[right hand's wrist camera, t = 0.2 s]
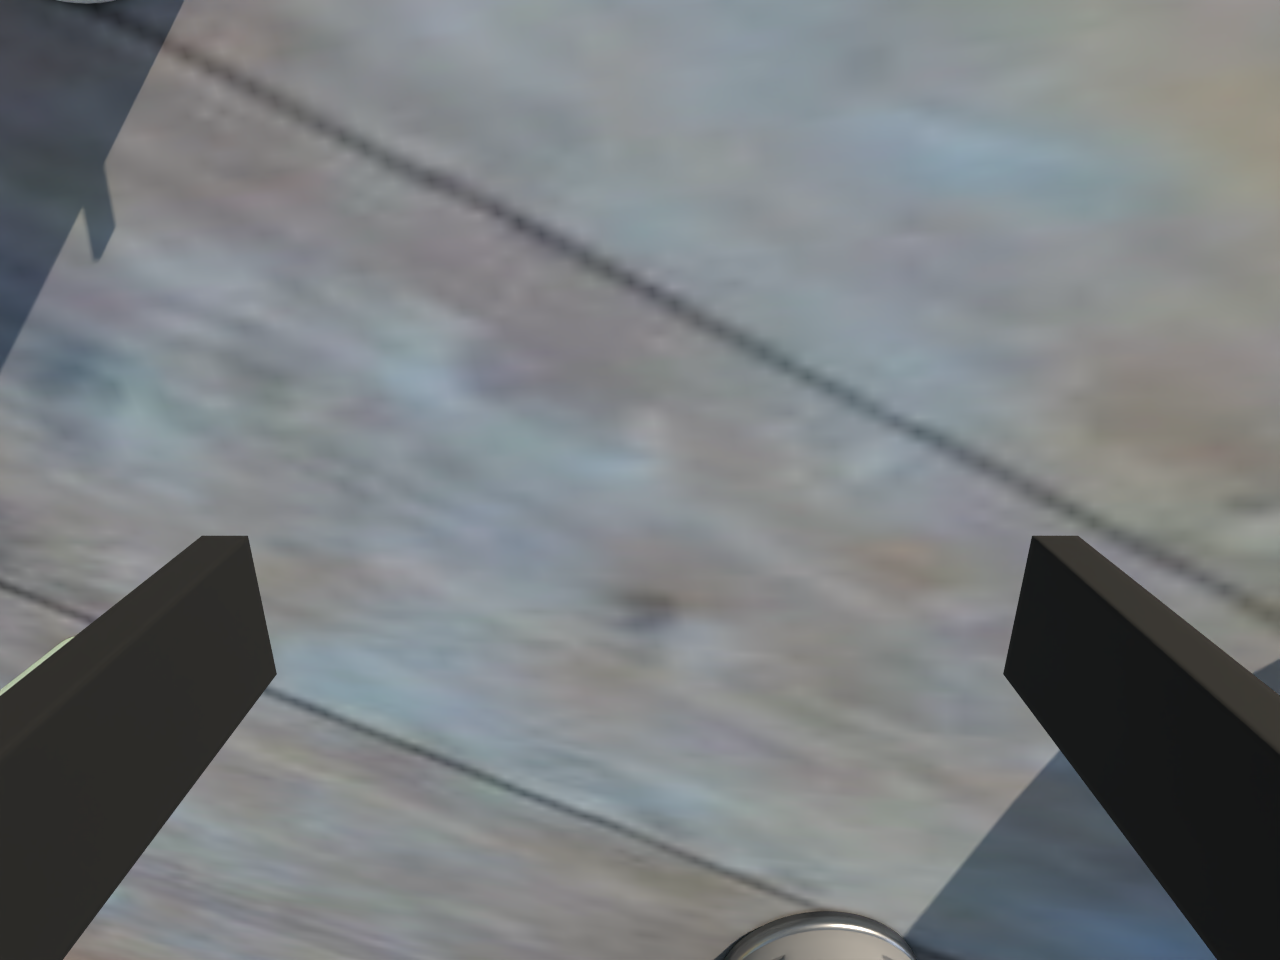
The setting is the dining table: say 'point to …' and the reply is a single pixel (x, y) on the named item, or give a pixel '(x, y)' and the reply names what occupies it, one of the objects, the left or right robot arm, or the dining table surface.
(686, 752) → the dining table surface
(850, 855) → the dining table surface
